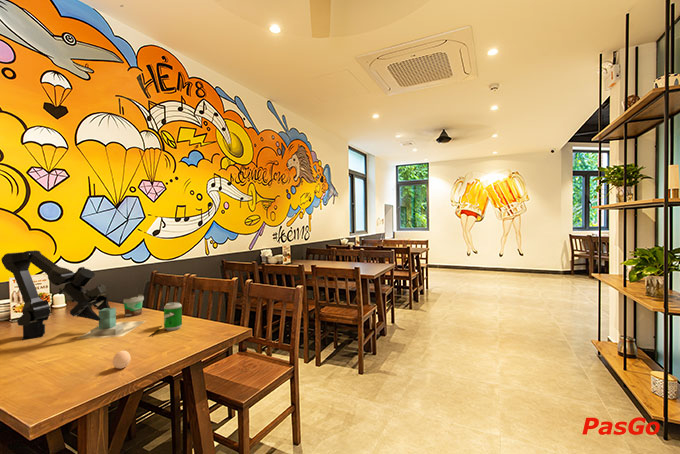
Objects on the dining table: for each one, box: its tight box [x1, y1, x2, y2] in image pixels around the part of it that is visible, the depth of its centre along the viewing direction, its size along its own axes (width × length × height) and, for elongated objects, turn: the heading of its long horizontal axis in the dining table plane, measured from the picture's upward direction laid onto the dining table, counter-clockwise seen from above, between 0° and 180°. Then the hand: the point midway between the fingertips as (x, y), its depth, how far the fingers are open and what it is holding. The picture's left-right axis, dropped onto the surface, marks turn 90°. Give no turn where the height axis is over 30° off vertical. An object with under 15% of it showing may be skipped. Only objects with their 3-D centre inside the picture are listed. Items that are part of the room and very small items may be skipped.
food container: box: [122, 294, 145, 318], centre depth 171 cm, size 12×6×10 cm, turn 179°
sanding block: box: [89, 307, 124, 336], centre depth 138 cm, size 10×6×10 cm, turn 98°
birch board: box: [76, 320, 147, 340], centre depth 143 cm, size 18×22×2 cm
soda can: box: [163, 301, 183, 332], centre depth 147 cm, size 8×8×12 cm
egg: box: [112, 350, 131, 370], centre depth 106 cm, size 5×5×6 cm
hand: (106, 316), depth 137 cm, fingers open, 9 cm apart
